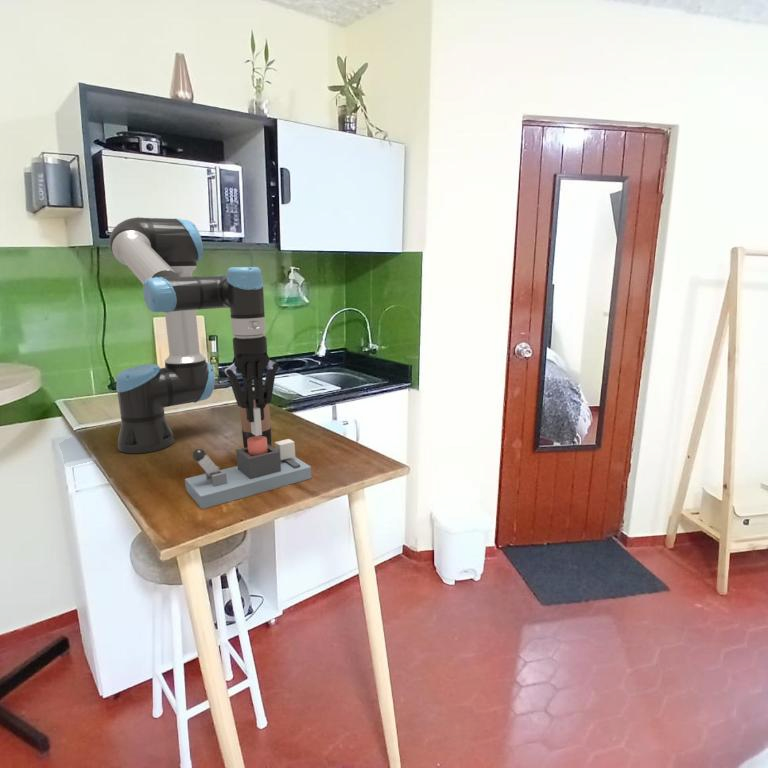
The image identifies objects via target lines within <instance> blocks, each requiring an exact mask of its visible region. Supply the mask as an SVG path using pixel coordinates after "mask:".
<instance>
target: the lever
mask: <svg viewBox="0 0 768 768" xmlns="http://www.w3.org/2000/svg"><path fill="white" fill-rule="evenodd" d="M192 459H193V460H194V461H196V463H198V465H199V466H200V468H202V469H203V471H204V472H205V474H206V473H207V474H208V475H209V476H210V477H211V478H212V475H214V474H218V473H221V471H220V470H221V469H220V468H219V469H220V470H219V469H218V468H217V467H216V466H217V465H216V464H215V463H214V462H213V461H212V459H211V458H210V457H209V455H208V454H207V453H206V451H205V450H204V449H202V448H196V449H195V450H194V451H193V453H192Z"/></svg>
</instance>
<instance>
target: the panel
mask: <svg viewBox="0 0 768 768" xmlns="http://www.w3.org/2000/svg"><path fill="white" fill-rule="evenodd" d="M267 448H268V453H264V454H260V455H256V456H250V455H249V454H248V447H247V448H244V447H243V448H239V449H235V453H236V461H237V464H236V466H232V467H231V466H230V467H228V468H223V469H220V466H218V465H216V467H217V468H218V469H219V470H220V471H221V473H218V474H214V475H212V478H211V477H210V476H209V475H208V474H207V473H206V472H205V473H203V474H202V473H201V474H199V475H194V476H190V477H187V478H184V484H185V485H184V486H185V491H186V492H187V494H188V495H189V496H190V497H191V498H192V500H194V502H195V503H196V504H197V505H198V506H199V508H200V509H201V510H204V509H207V508H211V507H214V506H218V505H221V504H225V503H228V502H229V503H230V502H232V501H236V500H239V499H242V498H247V497H250V496H254V495H257V494H260V493H264V492H267V491H271V490H275V489H278V488H279V489H280V488H283V487H285V486H289V485H292V484H296V483H299V482H303V481H306V480H309V479H312V477H313V476H312V466H311V465H309V464H308V463H306V462H304V461H303V460H301V459H300V458H298V457H296V456H295V457H292V458H288V459H284V460H280V452H279V451H278V450H276V449H275V447H273V446H270V445H269V444H267Z"/></svg>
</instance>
